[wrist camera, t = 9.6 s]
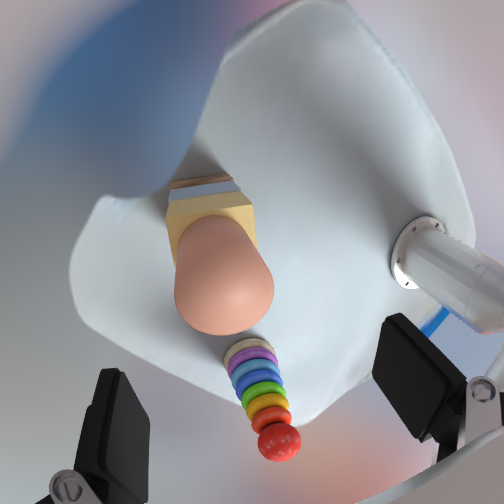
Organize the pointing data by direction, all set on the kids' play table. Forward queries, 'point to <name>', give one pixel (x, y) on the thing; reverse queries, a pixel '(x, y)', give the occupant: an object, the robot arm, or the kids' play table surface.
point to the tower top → (198, 207)
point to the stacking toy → (263, 397)
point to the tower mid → (202, 190)
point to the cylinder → (220, 277)
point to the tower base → (200, 181)
